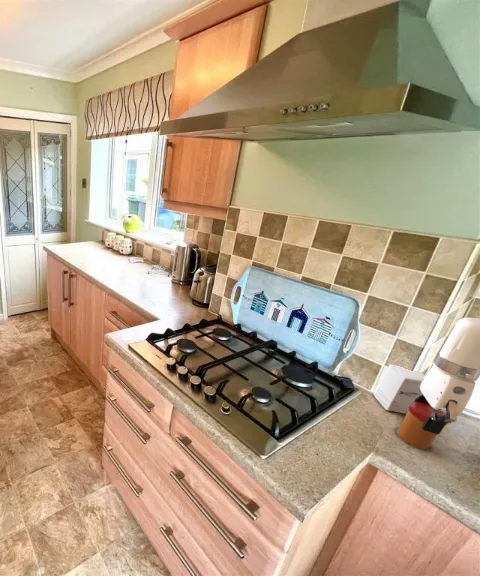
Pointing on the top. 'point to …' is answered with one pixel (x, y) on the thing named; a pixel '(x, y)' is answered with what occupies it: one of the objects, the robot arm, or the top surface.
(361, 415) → the top surface
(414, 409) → the lid
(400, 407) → the white packaging box
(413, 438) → the jar
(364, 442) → the top surface
